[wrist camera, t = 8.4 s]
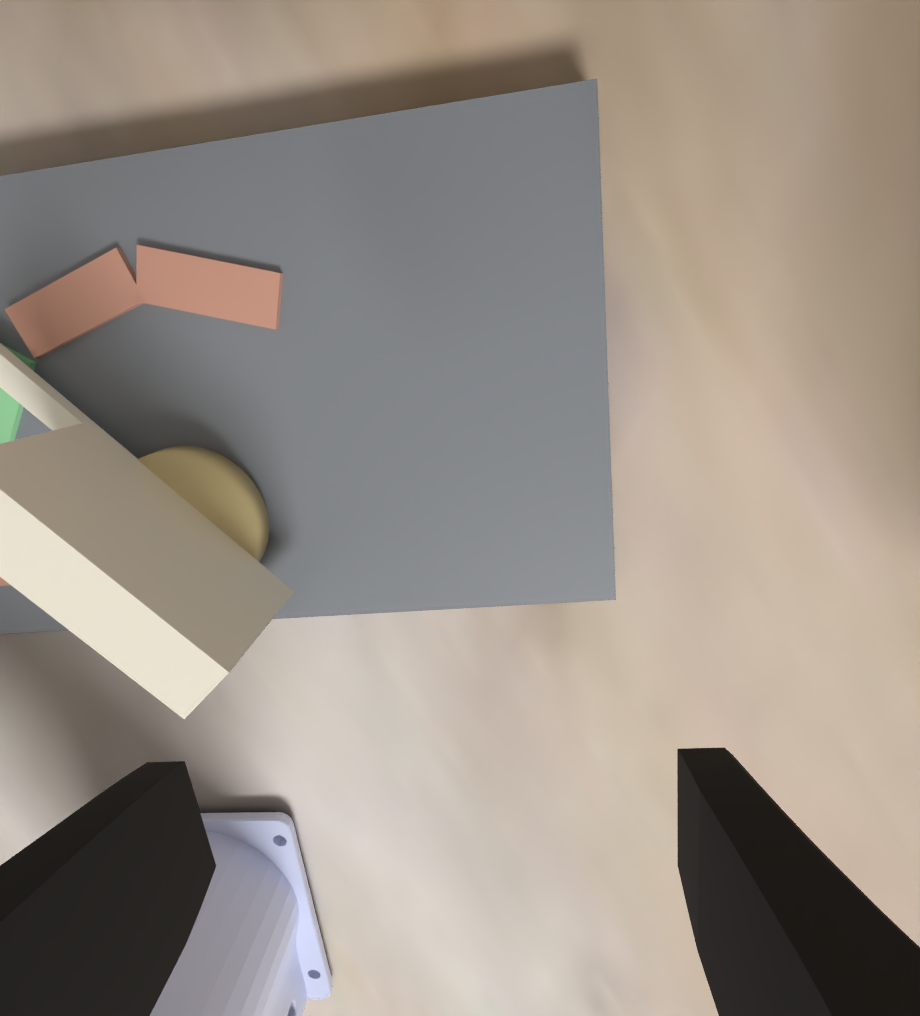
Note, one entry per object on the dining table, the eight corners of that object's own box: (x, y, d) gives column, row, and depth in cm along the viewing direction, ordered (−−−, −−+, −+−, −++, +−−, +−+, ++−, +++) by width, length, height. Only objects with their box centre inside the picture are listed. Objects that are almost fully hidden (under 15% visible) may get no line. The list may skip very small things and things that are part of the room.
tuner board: (609, 581, 18) (617, 603, 17) (-72, 622, 21) (-111, 643, 20) (591, 96, 15) (598, 75, 13) (-239, 229, 18) (-302, 222, 16)
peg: (333, 548, 17) (263, 636, 13) (246, 640, 19) (154, 751, 14) (2, 261, 16) (-220, 239, 11) (-68, 384, 17) (-295, 411, 12)
